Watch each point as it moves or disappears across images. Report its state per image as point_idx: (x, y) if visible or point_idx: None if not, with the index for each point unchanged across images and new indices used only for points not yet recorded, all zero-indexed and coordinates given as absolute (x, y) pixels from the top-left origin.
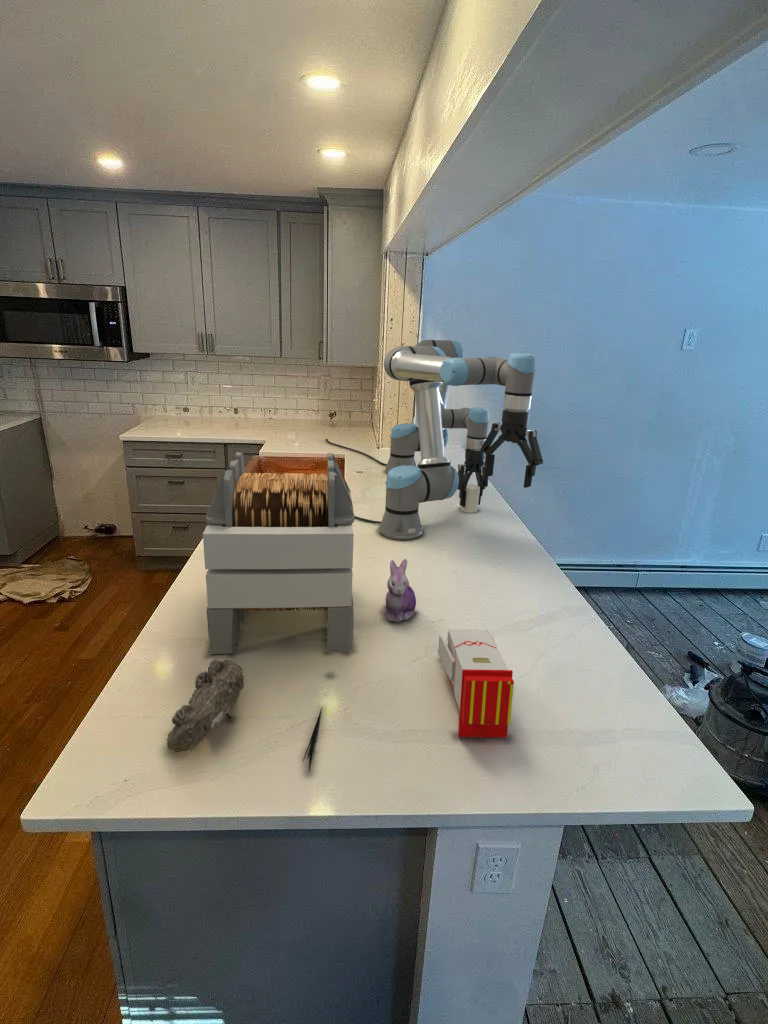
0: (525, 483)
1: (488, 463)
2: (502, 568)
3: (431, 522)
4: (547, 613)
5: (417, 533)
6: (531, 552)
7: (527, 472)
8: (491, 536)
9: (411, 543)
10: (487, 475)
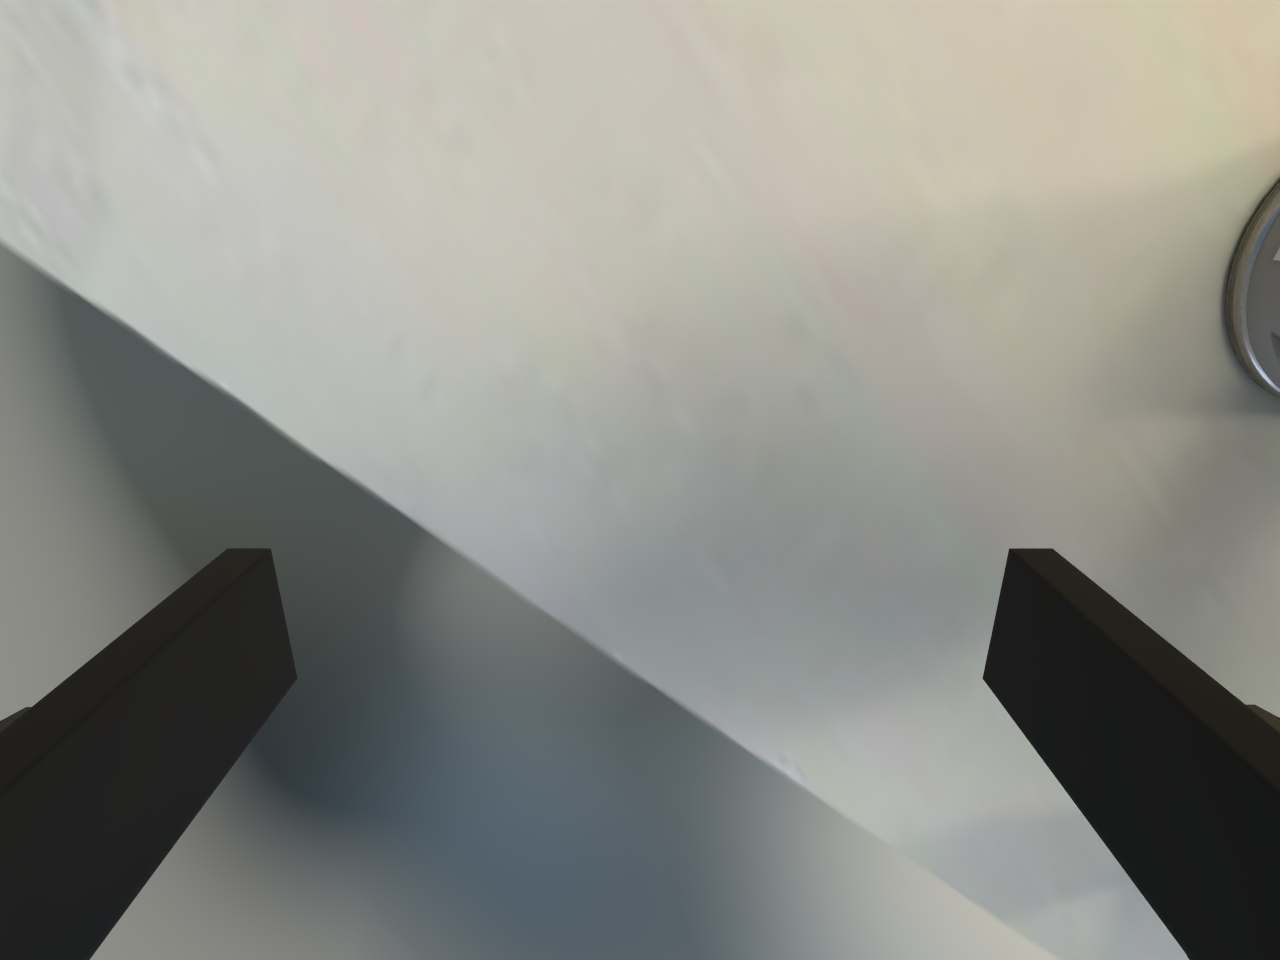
0: (199, 584)
1: (1192, 706)
2: (602, 344)
3: (1272, 545)
4: (92, 56)
5: (1254, 281)
6: (626, 629)
7: (16, 730)
8: (890, 641)
9: (1216, 181)
10: (1023, 562)
